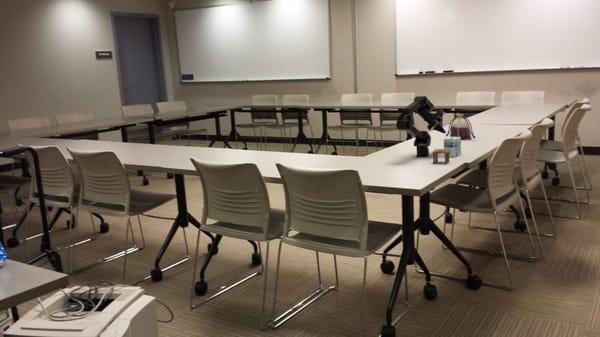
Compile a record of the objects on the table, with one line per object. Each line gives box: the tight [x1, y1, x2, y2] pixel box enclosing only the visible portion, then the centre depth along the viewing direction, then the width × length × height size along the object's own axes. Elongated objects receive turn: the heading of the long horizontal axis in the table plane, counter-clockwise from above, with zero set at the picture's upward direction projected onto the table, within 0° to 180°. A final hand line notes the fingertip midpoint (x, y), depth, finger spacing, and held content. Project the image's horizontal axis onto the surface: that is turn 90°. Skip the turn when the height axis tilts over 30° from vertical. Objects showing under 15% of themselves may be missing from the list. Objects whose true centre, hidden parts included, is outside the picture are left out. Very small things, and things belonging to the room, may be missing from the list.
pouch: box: [445, 112, 476, 140], centre depth 370 cm, size 25×8×19 cm, turn 44°
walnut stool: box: [431, 148, 450, 165], centre depth 293 cm, size 8×8×7 cm
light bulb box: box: [443, 136, 462, 158], centre depth 311 cm, size 11×7×11 cm, turn 143°
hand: (445, 132), depth 311 cm, fingers closed
